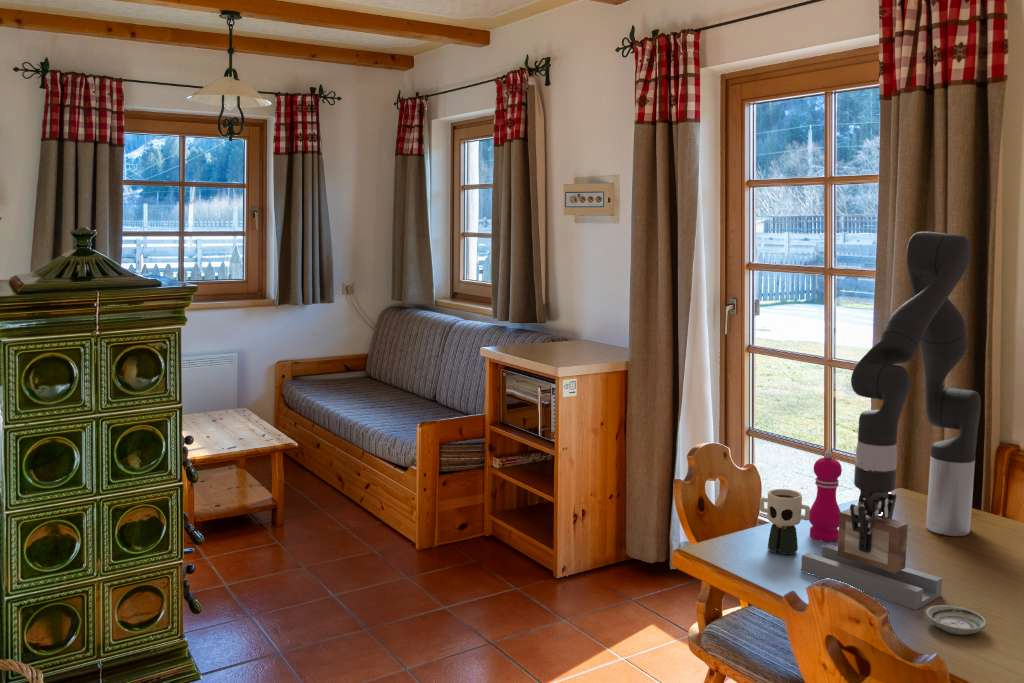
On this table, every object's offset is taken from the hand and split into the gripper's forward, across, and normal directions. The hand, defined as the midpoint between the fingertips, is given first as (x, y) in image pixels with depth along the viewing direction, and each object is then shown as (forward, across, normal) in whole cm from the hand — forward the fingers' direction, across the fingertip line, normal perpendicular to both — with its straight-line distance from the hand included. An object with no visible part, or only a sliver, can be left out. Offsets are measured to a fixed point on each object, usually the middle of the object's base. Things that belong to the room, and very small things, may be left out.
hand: (870, 548), depth 179 cm
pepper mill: (+7, -17, -20) cm, 27 cm away
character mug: (+7, -2, -21) cm, 22 cm away
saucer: (+8, +7, +20) cm, 23 cm away
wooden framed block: (+3, 0, 0) cm, 3 cm away
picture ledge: (+7, 0, 0) cm, 7 cm away
